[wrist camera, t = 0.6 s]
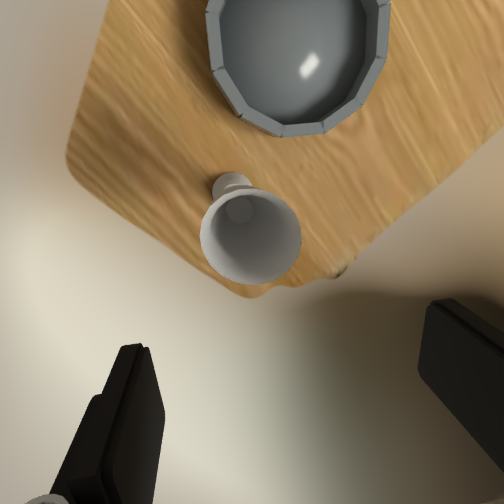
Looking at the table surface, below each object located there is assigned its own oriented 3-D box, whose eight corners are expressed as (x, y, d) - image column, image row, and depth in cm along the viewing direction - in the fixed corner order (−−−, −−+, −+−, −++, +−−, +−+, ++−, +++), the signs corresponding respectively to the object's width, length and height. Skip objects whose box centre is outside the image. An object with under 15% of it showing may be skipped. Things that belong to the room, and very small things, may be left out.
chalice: (191, 195, 37) (178, 244, 21) (227, 150, 36) (244, 165, 19) (237, 231, 40) (258, 301, 23) (272, 190, 38) (321, 234, 22)
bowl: (377, -66, 31) (397, -89, 27) (367, 128, 37) (382, 128, 34) (195, -60, 29) (194, -85, 26) (218, 142, 36) (219, 143, 32)
